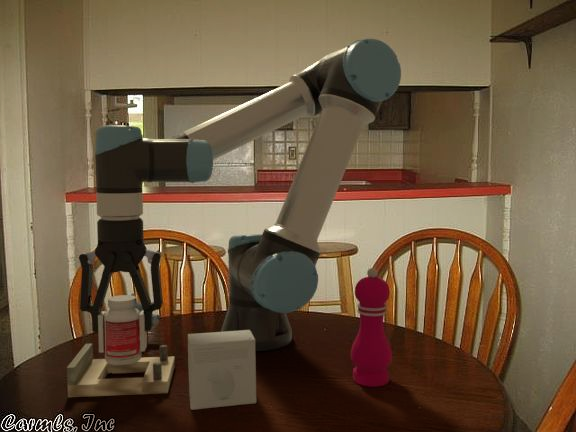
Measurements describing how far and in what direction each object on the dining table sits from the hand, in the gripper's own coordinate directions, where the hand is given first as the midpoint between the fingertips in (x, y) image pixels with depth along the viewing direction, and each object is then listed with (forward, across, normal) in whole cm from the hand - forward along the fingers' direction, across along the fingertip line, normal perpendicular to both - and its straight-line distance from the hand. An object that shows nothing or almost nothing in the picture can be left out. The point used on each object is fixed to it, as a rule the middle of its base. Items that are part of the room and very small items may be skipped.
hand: (123, 349), depth 97 cm
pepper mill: (+6, -43, +4) cm, 44 cm away
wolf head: (+6, +1, -22) cm, 23 cm away
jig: (+6, 0, 0) cm, 6 cm away
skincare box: (+6, -17, +9) cm, 20 cm away
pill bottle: (+2, 0, 0) cm, 2 cm away
